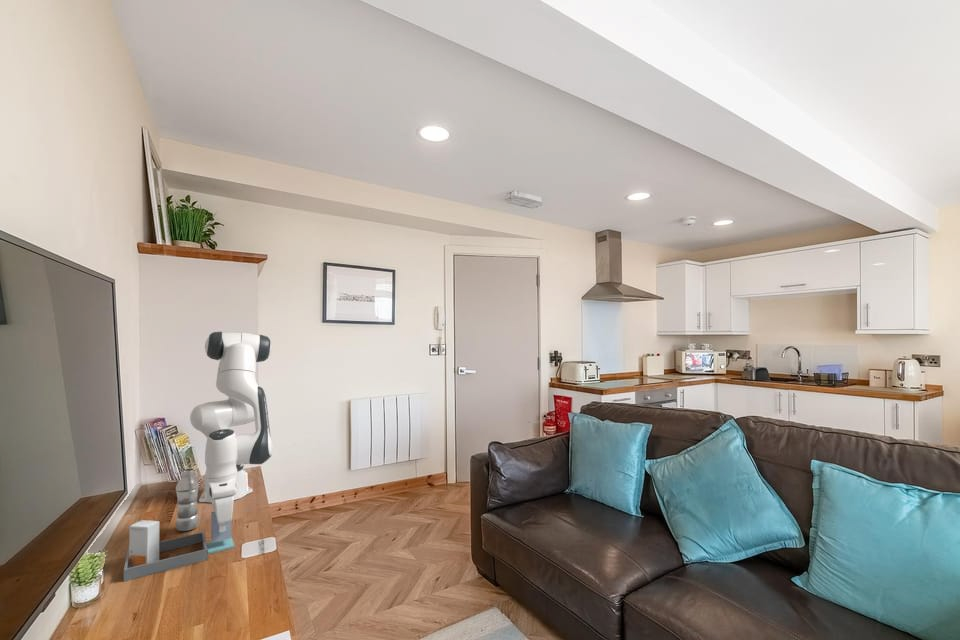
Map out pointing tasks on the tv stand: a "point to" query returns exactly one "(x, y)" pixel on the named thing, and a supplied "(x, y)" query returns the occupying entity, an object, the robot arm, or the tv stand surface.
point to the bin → (169, 562)
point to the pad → (220, 545)
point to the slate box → (215, 532)
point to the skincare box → (143, 543)
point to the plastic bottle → (187, 501)
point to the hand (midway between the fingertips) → (221, 527)
